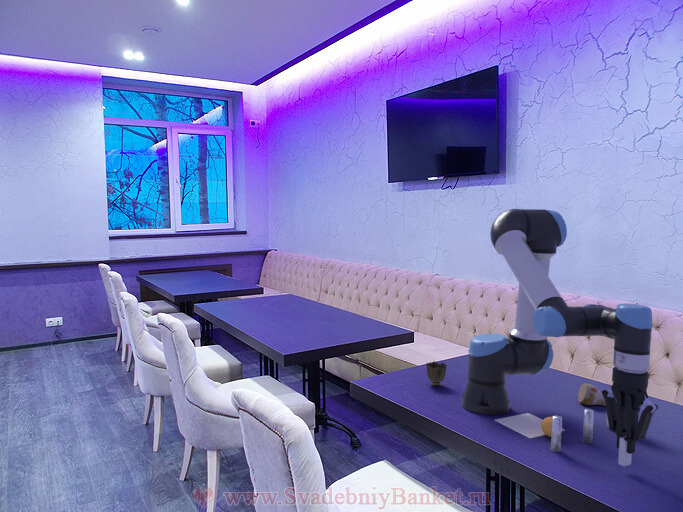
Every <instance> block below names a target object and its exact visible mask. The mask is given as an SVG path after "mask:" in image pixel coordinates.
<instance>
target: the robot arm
mask: <svg viewBox="0 0 683 512" xmlns="http://www.w3.org/2000/svg"><path fill="white" fill-rule="evenodd" d="M567 235H568V230H567V224H566V221H565V219H564V218H563V215H561V214H560V213H559V212H558V211H556V210H550V209H544V208H542V209H540V208H538V209H535V208H534V209H532V208H530V209H529V208H528V209H527V208H522V209H521V208H511V209H506V210H504V211H503V212H502V211H501V213H499V214H498V215H497V217H496V218H495V219H494V221H493V222H492V224H491V228H490V241H491V244H492V246H493V248H494V249H495V251H496V252H497V253H498V254H499V255H501V256H503V258H504V260H505V261H506V263H507V265H508V267H509V268H510V270H511V272H512V273H513V275H514V276H515V278H516V280H517V282H518V291H517V300H516V311H515V323H514V327H513V328H512V329H510V330H509V333H508V338H507V336H506V335H504V334H501V333H483V334H482V333H481V334H478V335H475V336H473V337H472V338H471V339H470V341H469V347H468V370H467V371H468V375H467V376H468V377H467V384H466V387H465V390H464V393H463V394H462V396H461V406H462V407H463V408H464V409H466V410H467V411H470V412H473V413H476V414H479V415H487V416H488V415H489V416H498V415H499V416H500V415H505V414H507V413H509V412H510V408H511V402H510V399H509V395H508V392H507V391H508V390H507V388H506V376H511V375H512V376H513V375H535V374H536V375H537V374H543V373H545V372H547V370H549V369H550V367H551V366H552V363H553V361H554V350H553V346H552V343H551V341H549V339H548V338H561V337H562V338H563V337H595V336H597V337H605V338H607V339H611V340H614V346H613V359H612V360H613V362H612V364H613V366H614V367H612V374H611V376H612V377H611V381H612V385H611V386H610V387H611V388H608V389H603V390H601V392H602V395H603V397H604V399H605V403H606V406H605V410H606V417H607V416H608V423H609V427H608V429H609V430H610V431H611V432H613V433H615V435H616V443H615V444H616V449H618V461H617V462H618V463H617V464H618V465H620V466H622V467H626V466H630V465H632V458H633V456H632V455H633V454H635V452H636V445H637V444H636V443H637V442H639V441H644V440H645V438H646V435H647V432H648V429H649V427H650V425H651V420H652V417H653V415H654V414H655V412H657V410H658V409H659V406H658V404H656V403H654V404H653V402H652V401H650V400H649V395H648V392H647V391H648V390H647V389H648V387H649V375H650V374H649V372H648V371H649V370H650V361H651V360H650V359H651V341H652V330H653V329H652V328H653V311H652V309H651V308H650V307H649V306H647V305H643V304H637V303H619V304H617V306H616V307H615V308H613V307H609V306H605V305H603V304H594V303H590V304H586V305H584V306H570V305H568V304H567V303H566V301H565V300H564V298H563V297H562V296H561V294H560V292H559V291H558V289H557V288H556V287H555V285H554V283H553V281H552V280H551V278H550V277H549V275H550V274H549V273H550V264H551V263H550V262H551V258H552V257H554V256H555V255H556V254H557V248H559V247H561V246H562V245H564V242H566V239H567ZM615 398H616V399H615ZM616 400H617V403H616ZM642 405H643V406H642ZM641 407H642V411H641ZM640 411H641V412H640ZM639 414H640V417H639Z"/></svg>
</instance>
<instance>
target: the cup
mask: <svg viewBox="0 0 683 512" xmlns="http://www.w3.org/2000/svg"><path fill="white" fill-rule="evenodd" d="M425 364H426V376H427V378H428V380H429V381H430V384H431V386H433V387H440V386H441V385H442V383H441V382H443V381H444V379H445V378H446V372H447V368H448V367H447V363H445V362H440V363H438V361H435V360H433V361H432V362H431V361H429V362H427V363H425Z"/></svg>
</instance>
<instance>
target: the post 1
mask: <svg viewBox="0 0 683 512" xmlns="http://www.w3.org/2000/svg"><path fill="white" fill-rule="evenodd" d="M551 417H552V433H551V437H550V439H551V440H550V451H552V452H554V453H561V450H562V449H561V446H562V432H563V431H562V429H563V417H562V416H560V415H552V416H551Z"/></svg>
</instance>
